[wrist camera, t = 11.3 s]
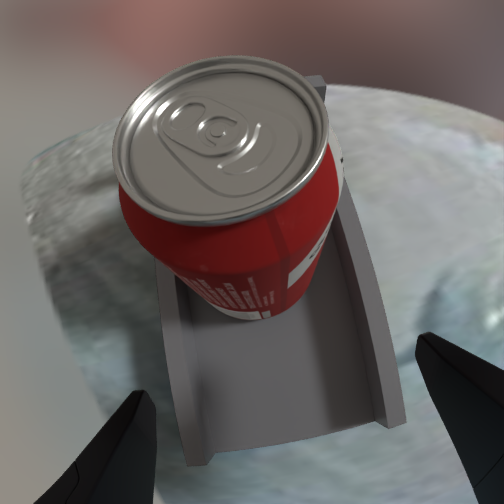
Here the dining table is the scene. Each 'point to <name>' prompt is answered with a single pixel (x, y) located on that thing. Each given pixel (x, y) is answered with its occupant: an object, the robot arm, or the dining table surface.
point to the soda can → (231, 180)
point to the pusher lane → (284, 354)
